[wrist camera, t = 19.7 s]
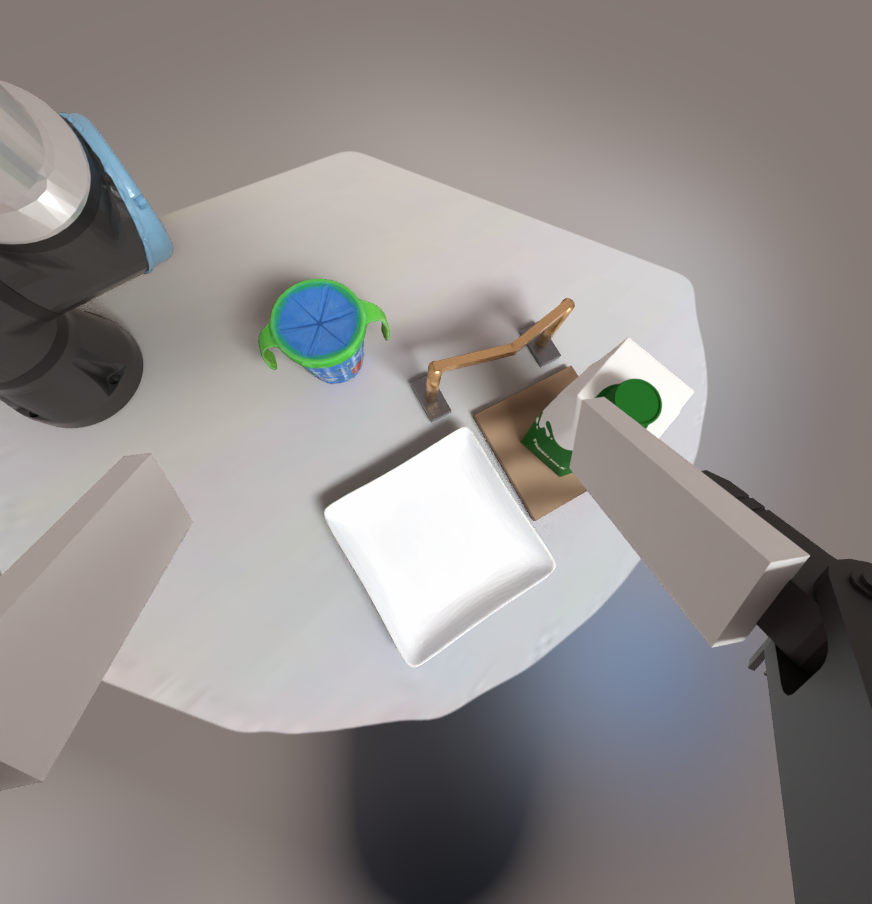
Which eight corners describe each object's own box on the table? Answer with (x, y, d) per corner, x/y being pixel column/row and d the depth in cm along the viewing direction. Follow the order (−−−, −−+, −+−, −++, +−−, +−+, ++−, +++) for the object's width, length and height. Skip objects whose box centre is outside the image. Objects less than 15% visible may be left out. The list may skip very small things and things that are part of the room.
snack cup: (283, 405, 48) (250, 373, 38) (274, 334, 50) (240, 287, 40) (398, 386, 50) (395, 351, 40) (385, 318, 52) (379, 268, 42)
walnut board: (473, 417, 50) (474, 414, 49) (568, 368, 52) (571, 365, 51) (533, 520, 47) (535, 520, 46) (629, 464, 50) (633, 463, 49)
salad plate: (411, 663, 43) (411, 675, 40) (325, 511, 46) (318, 510, 43) (551, 565, 47) (562, 568, 43) (462, 429, 50) (466, 422, 46)
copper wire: (410, 385, 50) (410, 348, 40) (536, 324, 53) (566, 276, 43) (431, 422, 49) (436, 394, 39) (558, 358, 52) (593, 317, 42)
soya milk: (510, 442, 48) (578, 385, 29) (552, 396, 50) (642, 313, 30) (560, 487, 47) (665, 459, 28) (600, 439, 49) (726, 381, 30)
